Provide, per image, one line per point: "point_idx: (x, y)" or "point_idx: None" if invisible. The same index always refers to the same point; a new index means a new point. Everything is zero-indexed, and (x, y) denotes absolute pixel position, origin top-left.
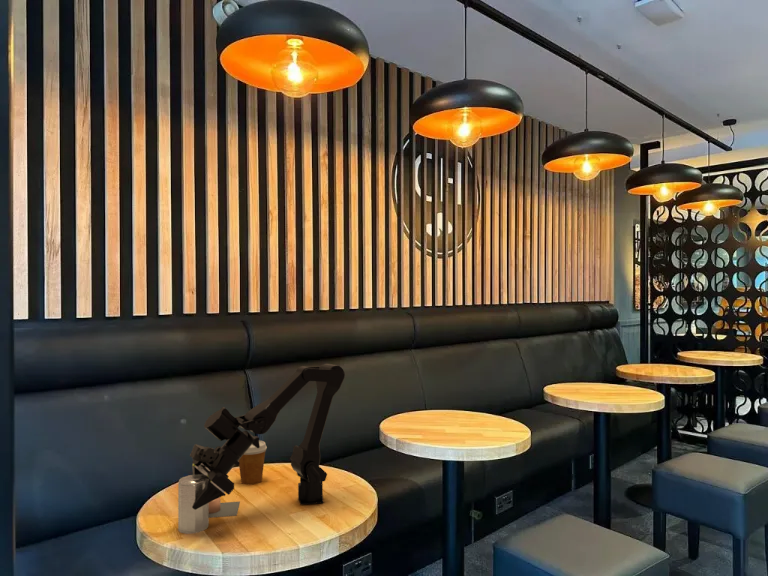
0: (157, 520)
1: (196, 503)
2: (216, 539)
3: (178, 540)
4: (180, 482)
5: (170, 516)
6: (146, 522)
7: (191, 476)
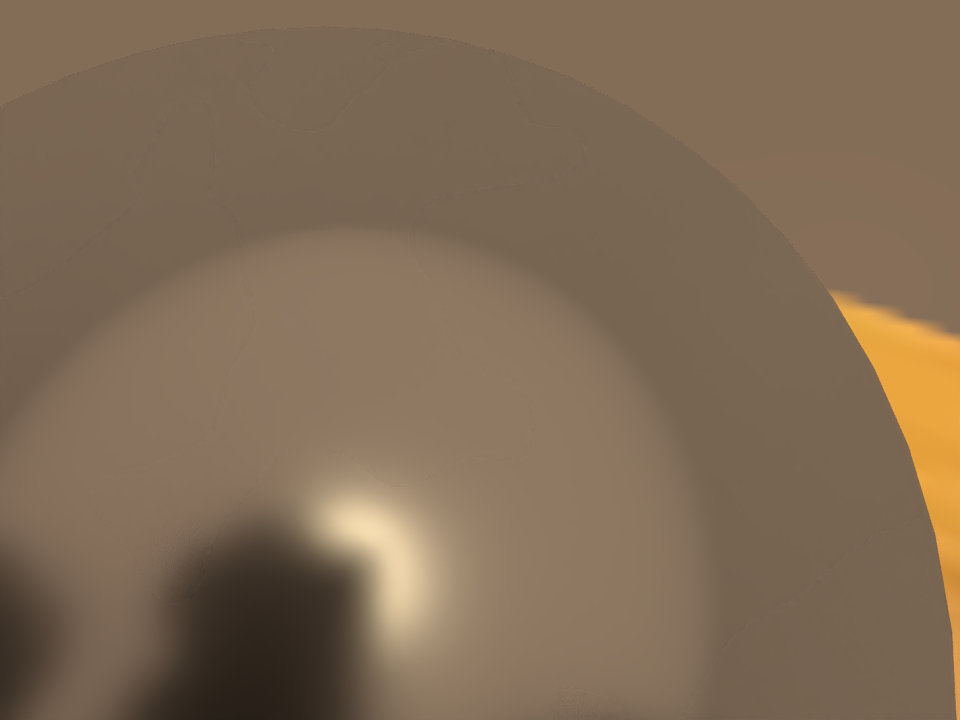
0: (921, 446)
1: None
2: None
3: None
4: (332, 30)
5: (953, 593)
6: (934, 356)
7: (707, 663)
